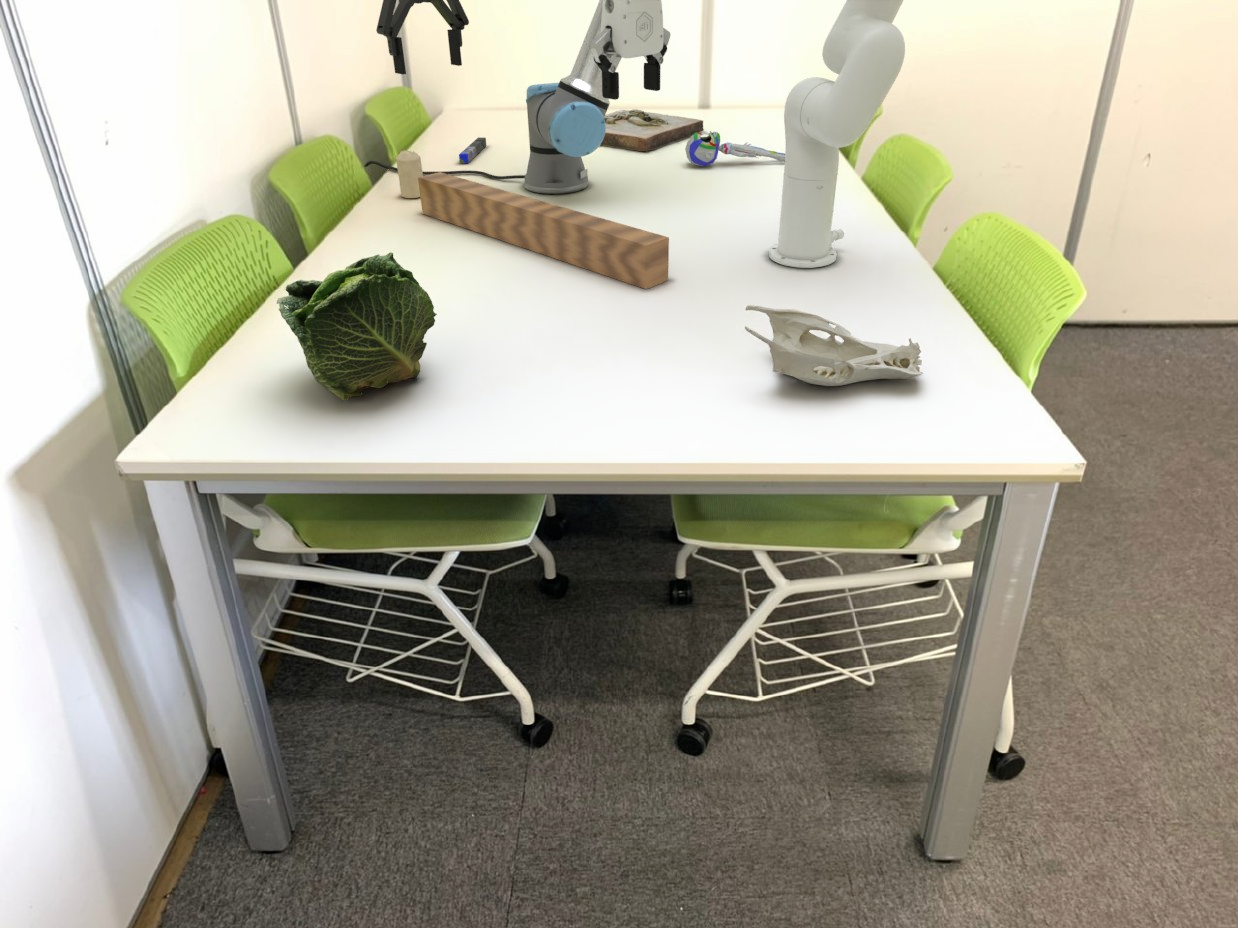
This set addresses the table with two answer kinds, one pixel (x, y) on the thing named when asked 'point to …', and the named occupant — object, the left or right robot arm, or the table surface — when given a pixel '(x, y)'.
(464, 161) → the grey and blue rod
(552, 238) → the bar
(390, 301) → the vegetable
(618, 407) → the table surface
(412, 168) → the candle
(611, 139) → the plaque
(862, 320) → the table surface
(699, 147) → the toy
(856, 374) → the anatomical model
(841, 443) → the table surface
